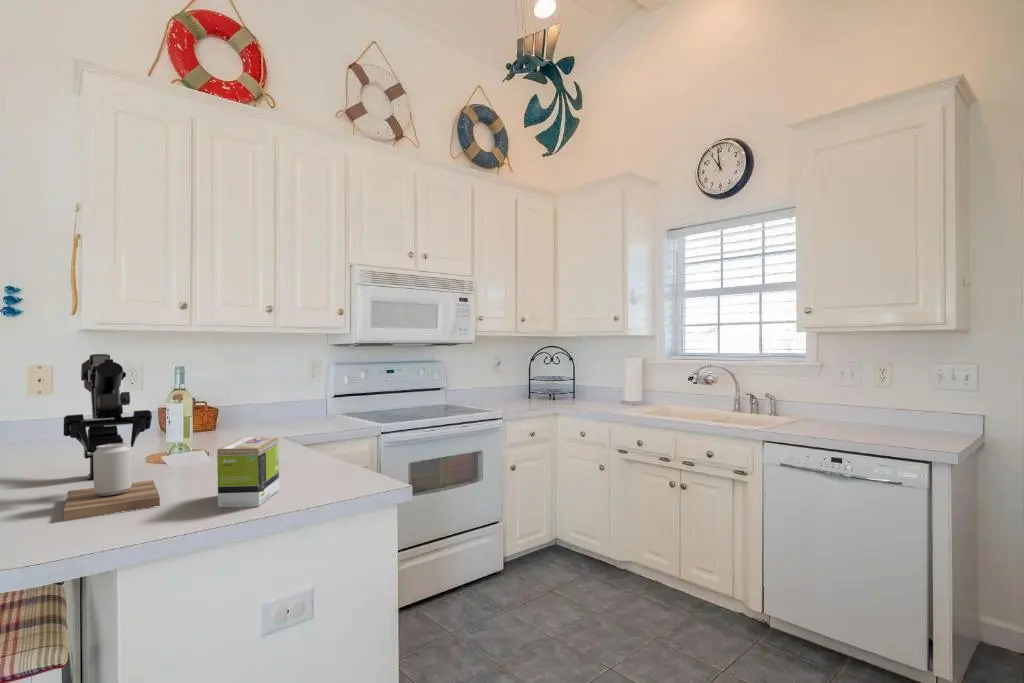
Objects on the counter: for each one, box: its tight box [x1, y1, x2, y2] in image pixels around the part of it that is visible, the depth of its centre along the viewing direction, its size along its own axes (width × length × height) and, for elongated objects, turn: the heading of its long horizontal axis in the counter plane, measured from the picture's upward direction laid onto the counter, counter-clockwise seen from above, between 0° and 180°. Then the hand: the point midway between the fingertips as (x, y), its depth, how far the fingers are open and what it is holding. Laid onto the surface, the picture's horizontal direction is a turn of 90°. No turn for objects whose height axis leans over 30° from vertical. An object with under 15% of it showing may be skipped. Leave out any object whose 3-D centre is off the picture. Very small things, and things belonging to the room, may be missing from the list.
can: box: [93, 442, 132, 496], centre depth 135 cm, size 8×8×12 cm
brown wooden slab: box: [63, 479, 161, 522], centre depth 135 cm, size 20×18×3 cm
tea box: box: [216, 436, 280, 508], centre depth 139 cm, size 15×10×15 cm, turn 5°
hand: (110, 448), depth 141 cm, fingers open, 9 cm apart
